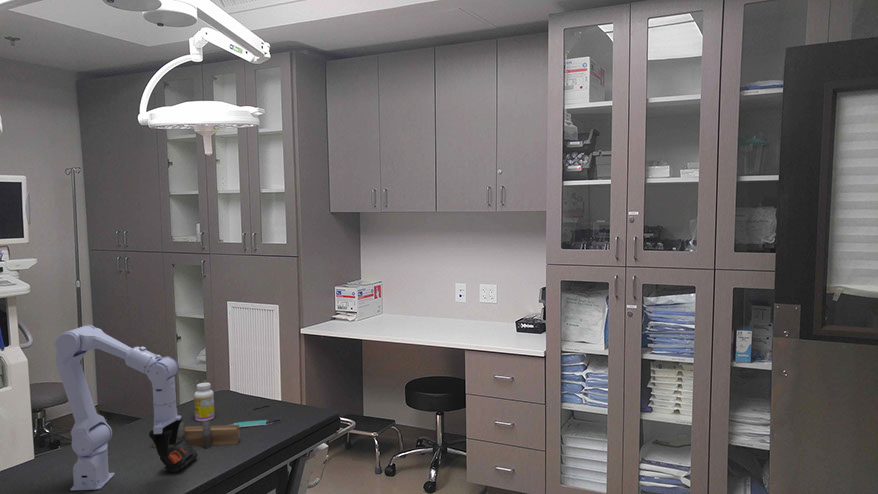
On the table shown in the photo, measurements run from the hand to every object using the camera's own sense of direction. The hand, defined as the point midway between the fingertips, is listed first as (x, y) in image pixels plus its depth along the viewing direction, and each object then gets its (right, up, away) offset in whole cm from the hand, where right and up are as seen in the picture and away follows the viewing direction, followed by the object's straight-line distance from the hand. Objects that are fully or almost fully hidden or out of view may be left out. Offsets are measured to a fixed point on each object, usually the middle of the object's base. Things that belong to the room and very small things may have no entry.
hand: (167, 449), depth 171 cm
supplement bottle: (-9, -6, +51) cm, 52 cm away
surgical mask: (+9, -7, +45) cm, 47 cm away
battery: (-1, -9, +12) cm, 15 cm away
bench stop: (-3, -8, +28) cm, 29 cm away
